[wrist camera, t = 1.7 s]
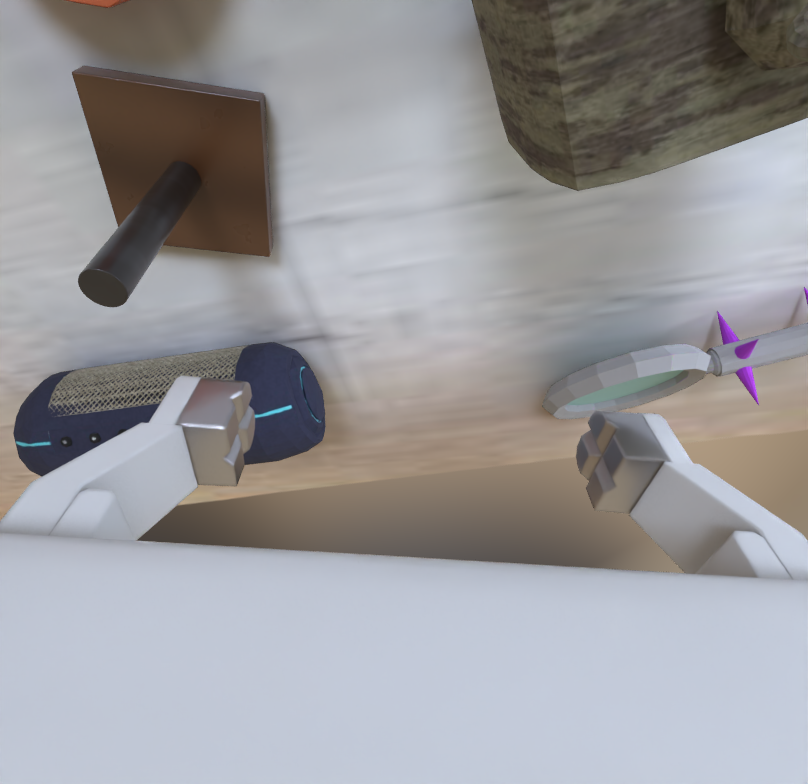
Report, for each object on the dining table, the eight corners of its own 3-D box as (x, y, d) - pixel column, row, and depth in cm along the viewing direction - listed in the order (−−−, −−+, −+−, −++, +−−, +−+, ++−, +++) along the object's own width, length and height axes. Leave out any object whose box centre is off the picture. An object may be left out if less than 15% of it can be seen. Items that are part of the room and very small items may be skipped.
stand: (83, 65, 27) (-90, 155, 17) (264, 93, 28) (202, 192, 18) (130, 230, 34) (27, 362, 24) (273, 247, 35) (231, 377, 25)
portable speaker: (308, 311, 39) (292, 398, 32) (337, 393, 46) (330, 479, 39) (30, 352, 41) (-41, 442, 34) (99, 424, 48) (52, 511, 41)
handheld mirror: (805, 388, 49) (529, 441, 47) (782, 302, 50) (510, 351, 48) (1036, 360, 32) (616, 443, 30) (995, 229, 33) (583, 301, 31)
